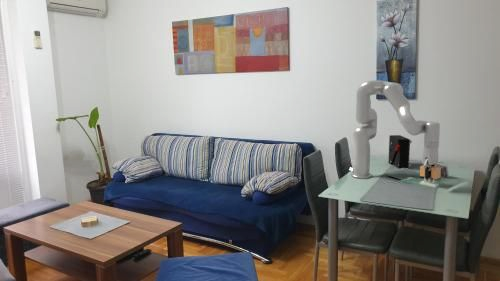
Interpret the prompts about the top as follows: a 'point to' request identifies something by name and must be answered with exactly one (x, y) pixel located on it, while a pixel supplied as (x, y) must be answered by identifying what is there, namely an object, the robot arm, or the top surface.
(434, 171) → the plug housing
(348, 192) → the top surface
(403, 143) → the electrical component
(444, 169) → the electrical switch
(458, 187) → the top surface
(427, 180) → the pin header board
